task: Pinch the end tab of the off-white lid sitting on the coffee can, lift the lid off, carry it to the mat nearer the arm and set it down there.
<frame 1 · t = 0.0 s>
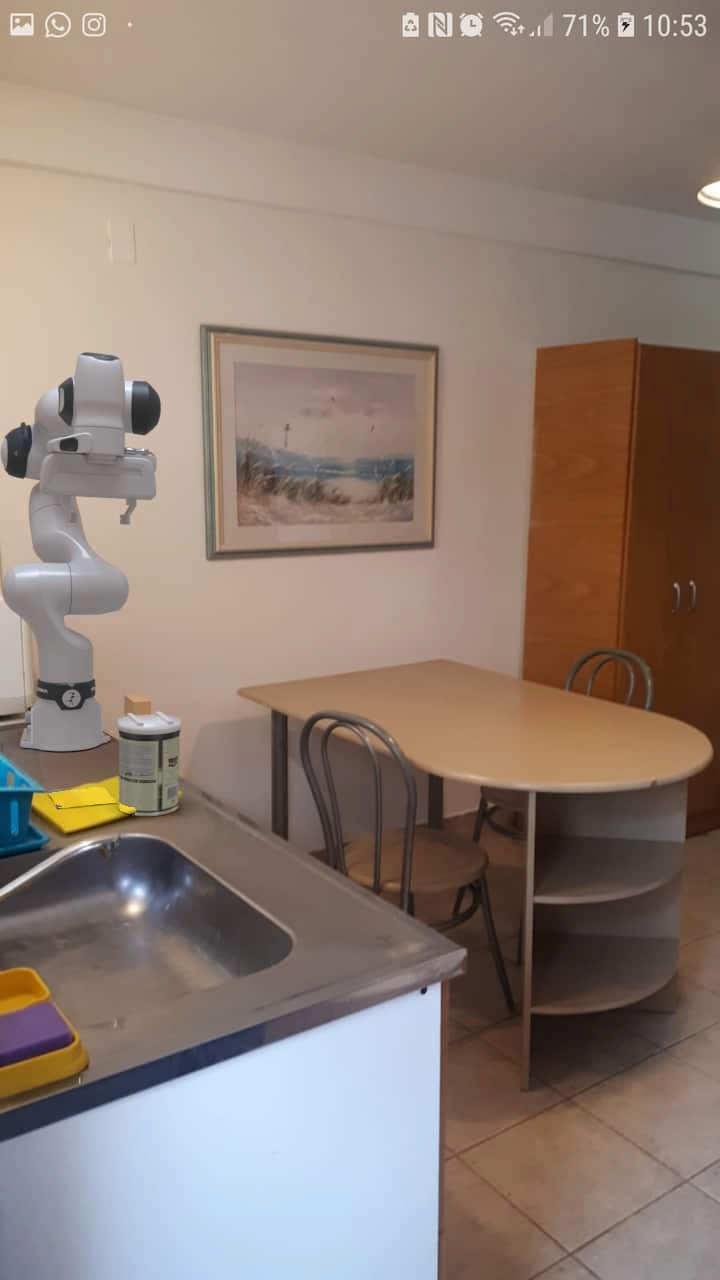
hand: (98, 523, 171), 48 cm above the counter, tool pointing down, fingers open, 8 cm apart
lid: (149, 727, 161), point 14 cm above the counter, touching coffee can
coffee can: (148, 808, 163), on the counter, touching lid
mat: (81, 798, 167), on the counter
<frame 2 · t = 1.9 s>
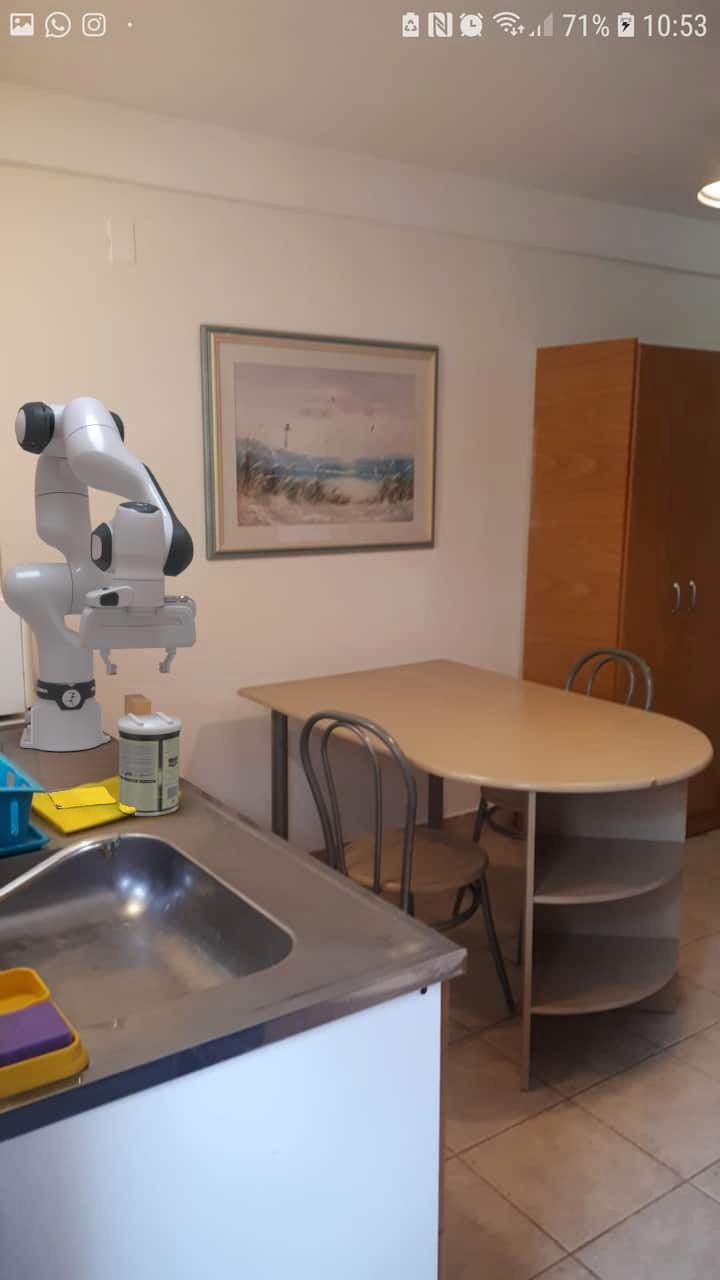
hand: (138, 673, 168), 22 cm above the counter, tool pointing down, fingers open, 8 cm apart
nothing on the counter moved.
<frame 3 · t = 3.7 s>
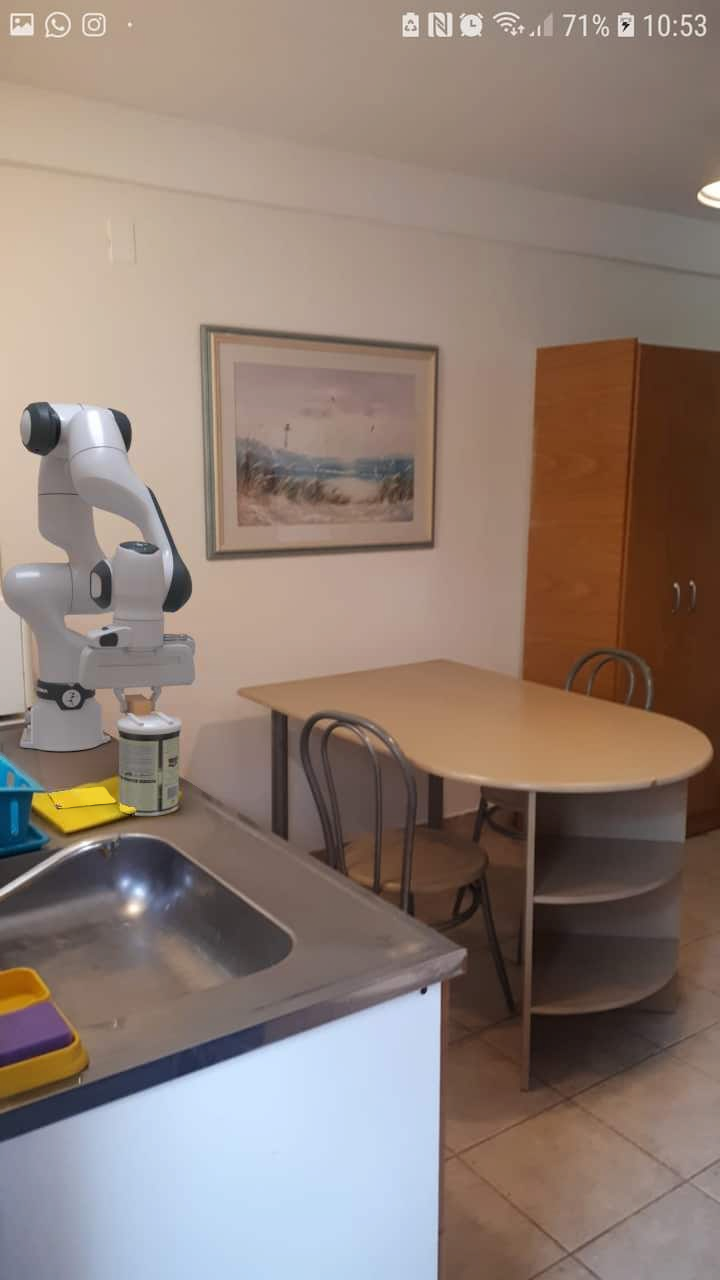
hand: (137, 711, 169), 15 cm above the counter, tool pointing down, fingers closed on lid, 3 cm apart
lid: (149, 727, 161), point 14 cm above the counter, touching gripper
coffee can: (148, 808, 163), on the counter
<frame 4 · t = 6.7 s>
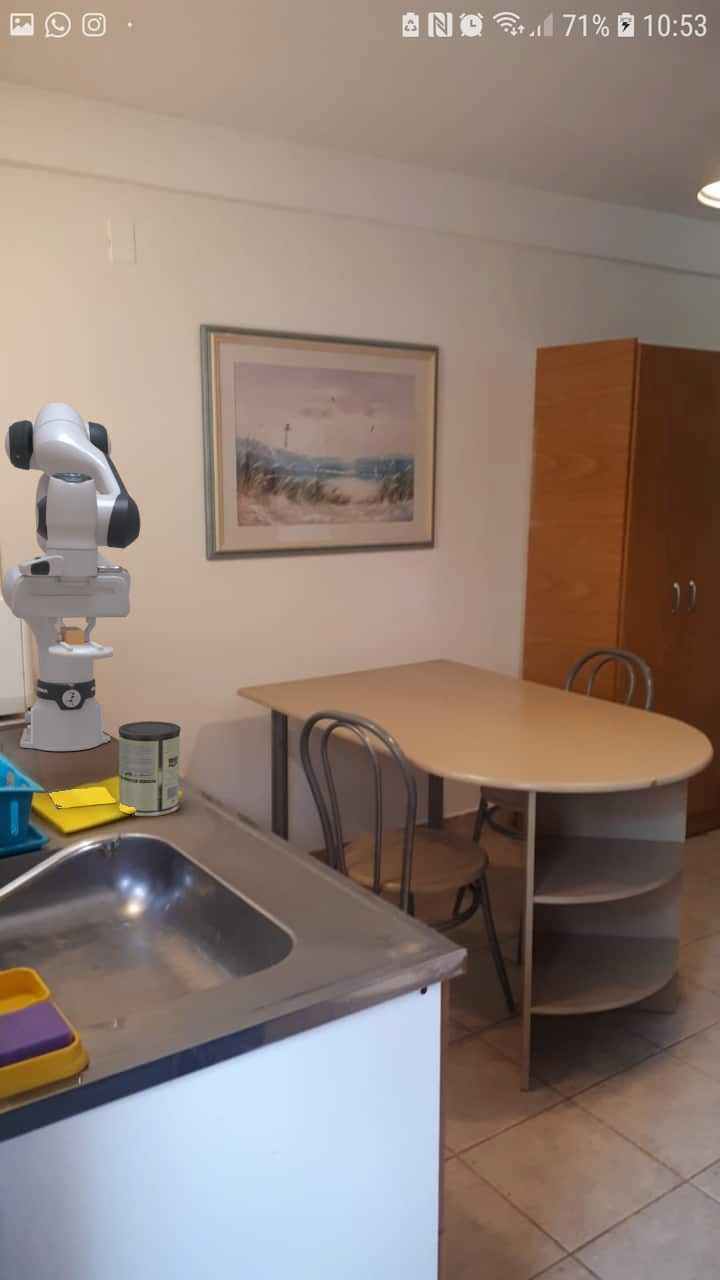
hand: (71, 642, 170), 27 cm above the counter, tool pointing down, fingers closed on lid, 3 cm apart
lid: (81, 655, 162), point 26 cm above the counter, touching gripper
everything else where it was.
when the fingers open (4 cm above the counter, at t = 9.8 s): lid drops 2 cm, resting on mat.
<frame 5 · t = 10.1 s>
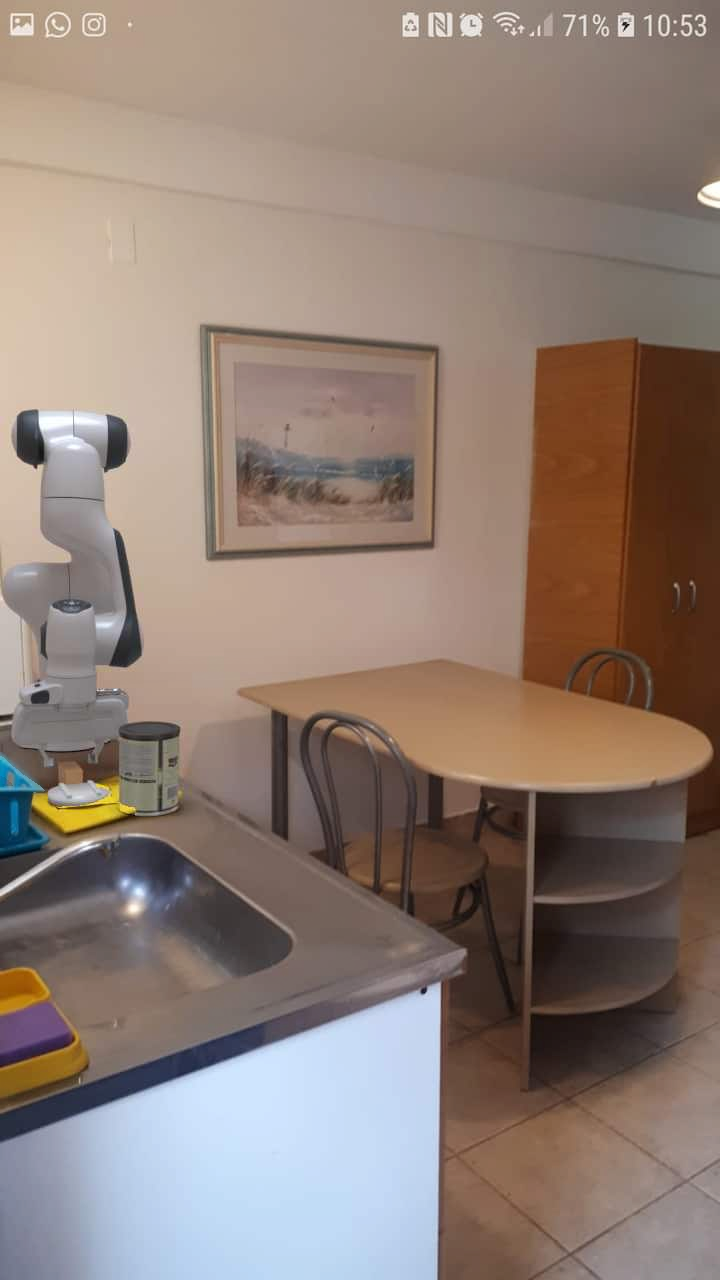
hand: (70, 765, 173), 4 cm above the counter, tool pointing down, fingers open, 6 cm apart
lid: (79, 797, 166), resting on mat
everything else where it was.
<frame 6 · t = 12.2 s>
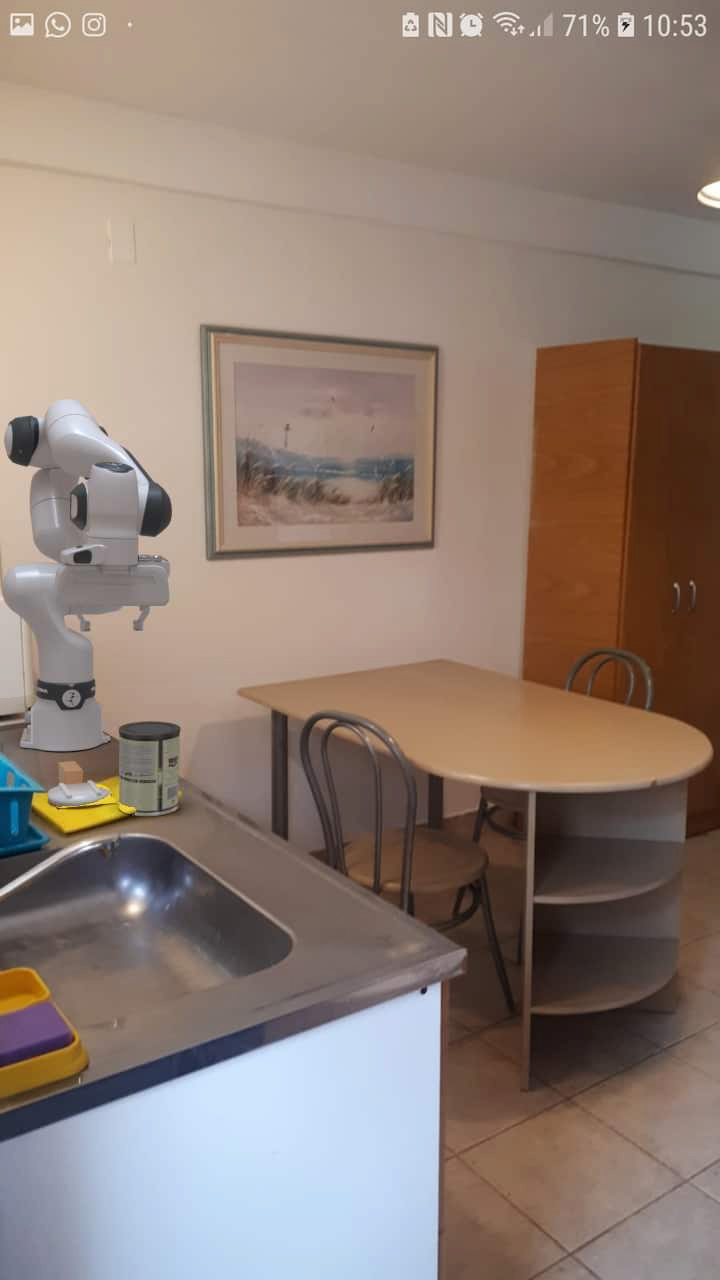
hand: (111, 630, 171), 29 cm above the counter, tool pointing down, fingers open, 8 cm apart
nothing on the counter moved.
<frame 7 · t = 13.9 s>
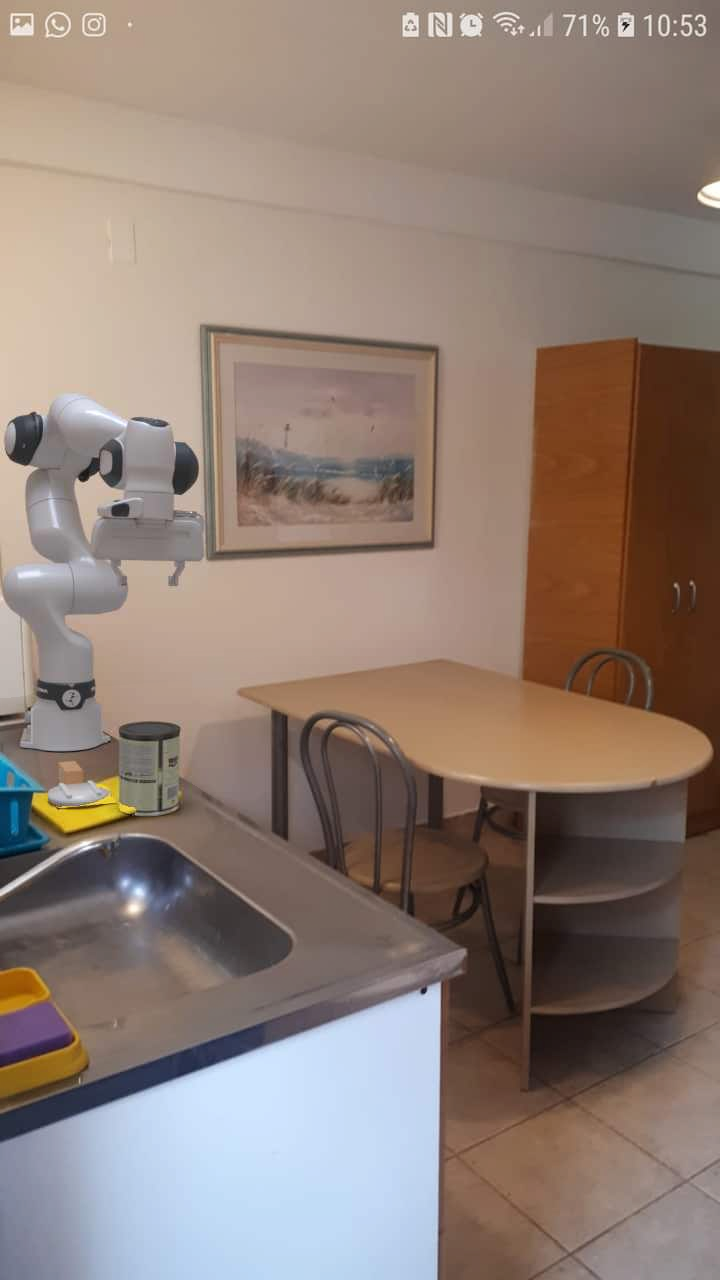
hand: (147, 585, 172), 37 cm above the counter, tool pointing down, fingers open, 8 cm apart
nothing on the counter moved.
at the end: lid inside the target area (0.0 cm from its centre), on the counter; lid touching mat; coffee can tilted 0° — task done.
